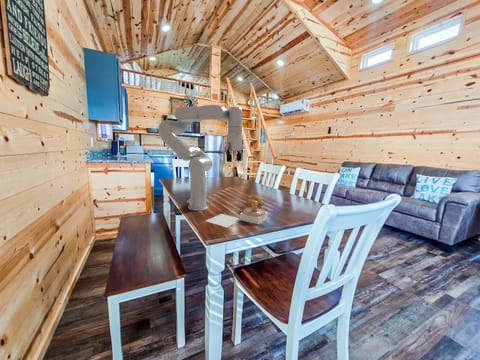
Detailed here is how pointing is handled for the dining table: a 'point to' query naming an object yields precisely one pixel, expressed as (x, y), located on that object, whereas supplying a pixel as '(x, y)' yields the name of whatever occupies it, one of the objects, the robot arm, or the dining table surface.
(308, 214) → the dining table surface
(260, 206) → the cheeseburger
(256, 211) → the lid
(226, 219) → the mat
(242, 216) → the dish
